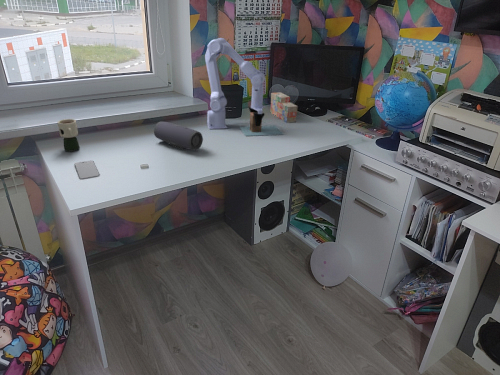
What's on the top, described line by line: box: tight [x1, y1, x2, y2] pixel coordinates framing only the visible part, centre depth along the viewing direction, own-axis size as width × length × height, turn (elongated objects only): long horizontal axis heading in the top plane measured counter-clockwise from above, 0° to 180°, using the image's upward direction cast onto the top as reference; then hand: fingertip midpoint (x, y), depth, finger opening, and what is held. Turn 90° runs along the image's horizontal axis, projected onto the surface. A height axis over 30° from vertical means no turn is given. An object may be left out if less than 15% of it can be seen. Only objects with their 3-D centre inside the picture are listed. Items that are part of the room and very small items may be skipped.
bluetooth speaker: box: [153, 121, 204, 151], centre depth 172 cm, size 23×9×10 cm, turn 56°
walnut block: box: [249, 111, 263, 132], centre depth 195 cm, size 5×5×9 cm
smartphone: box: [74, 160, 101, 180], centre depth 147 cm, size 7×1×15 cm
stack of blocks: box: [269, 91, 299, 123], centre depth 219 cm, size 21×6×12 cm, turn 23°
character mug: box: [57, 118, 81, 152], centre depth 162 cm, size 11×7×13 cm, turn 33°
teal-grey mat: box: [239, 124, 284, 137], centre depth 198 cm, size 20×14×1 cm
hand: (255, 123), depth 195 cm, fingers open, 7 cm apart
